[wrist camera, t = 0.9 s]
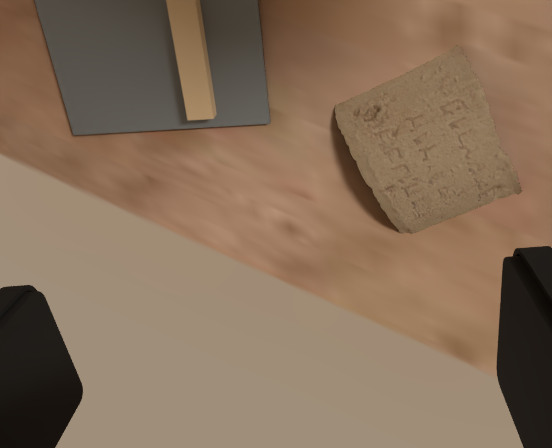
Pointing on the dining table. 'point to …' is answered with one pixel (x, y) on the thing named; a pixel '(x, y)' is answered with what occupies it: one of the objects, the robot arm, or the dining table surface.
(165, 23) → the mat
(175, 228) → the dining table surface
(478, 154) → the clay tablet
